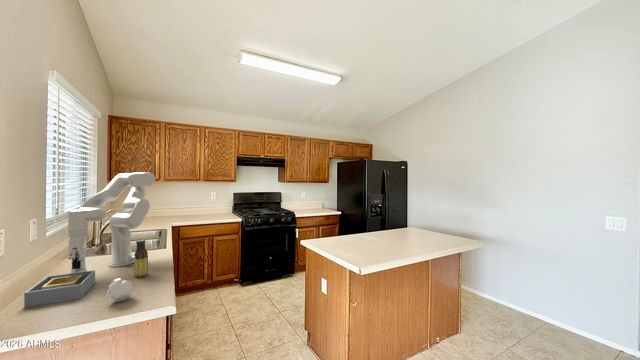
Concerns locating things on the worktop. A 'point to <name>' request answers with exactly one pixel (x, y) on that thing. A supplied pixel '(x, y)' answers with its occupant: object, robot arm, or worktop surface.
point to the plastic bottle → (82, 259)
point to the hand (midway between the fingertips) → (78, 266)
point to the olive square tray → (63, 282)
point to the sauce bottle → (141, 260)
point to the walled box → (58, 290)
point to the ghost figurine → (120, 290)
